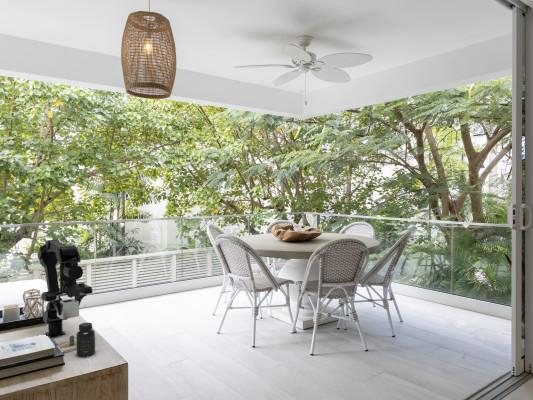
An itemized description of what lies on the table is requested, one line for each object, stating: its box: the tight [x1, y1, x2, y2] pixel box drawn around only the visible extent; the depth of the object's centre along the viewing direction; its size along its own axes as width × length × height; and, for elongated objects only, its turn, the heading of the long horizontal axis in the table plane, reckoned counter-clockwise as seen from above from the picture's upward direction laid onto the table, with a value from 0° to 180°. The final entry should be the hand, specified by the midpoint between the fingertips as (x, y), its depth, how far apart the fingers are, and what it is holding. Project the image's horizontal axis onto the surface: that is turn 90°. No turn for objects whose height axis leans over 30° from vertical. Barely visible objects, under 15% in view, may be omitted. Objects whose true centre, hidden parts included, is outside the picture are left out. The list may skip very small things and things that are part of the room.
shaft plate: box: [58, 335, 77, 353], centre depth 174 cm, size 7×10×5 cm
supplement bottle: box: [75, 322, 96, 358], centre depth 167 cm, size 7×7×12 cm
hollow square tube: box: [57, 297, 80, 321], centre depth 176 cm, size 6×6×6 cm
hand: (67, 313), depth 176 cm, fingers closed on hollow square tube, 6 cm apart
